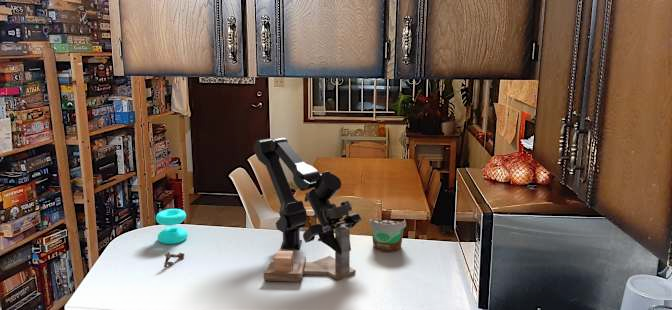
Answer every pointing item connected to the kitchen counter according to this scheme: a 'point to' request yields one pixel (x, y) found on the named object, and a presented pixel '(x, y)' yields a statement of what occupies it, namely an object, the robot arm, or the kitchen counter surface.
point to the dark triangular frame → (168, 256)
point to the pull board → (319, 263)
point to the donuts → (171, 233)
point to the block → (283, 261)
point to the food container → (387, 234)
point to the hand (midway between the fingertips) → (345, 252)
